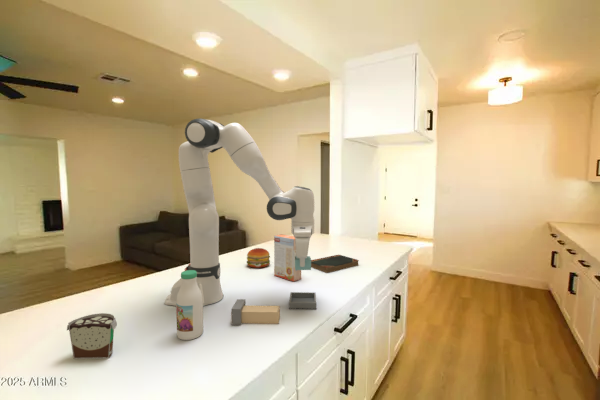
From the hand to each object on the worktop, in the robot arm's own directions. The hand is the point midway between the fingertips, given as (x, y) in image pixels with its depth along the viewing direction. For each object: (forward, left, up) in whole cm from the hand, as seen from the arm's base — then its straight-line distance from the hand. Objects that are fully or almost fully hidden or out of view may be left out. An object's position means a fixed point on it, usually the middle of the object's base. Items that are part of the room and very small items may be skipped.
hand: (302, 263), depth 113 cm
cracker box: (-8, +31, -16) cm, 36 cm away
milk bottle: (-35, -24, -16) cm, 45 cm away
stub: (0, 0, -2) cm, 2 cm away
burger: (-26, +51, -16) cm, 60 cm away
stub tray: (0, 0, -16) cm, 16 cm away
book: (+17, +53, -17) cm, 58 cm away
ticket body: (-16, -14, -16) cm, 26 cm away
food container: (-57, -34, -16) cm, 68 cm away
